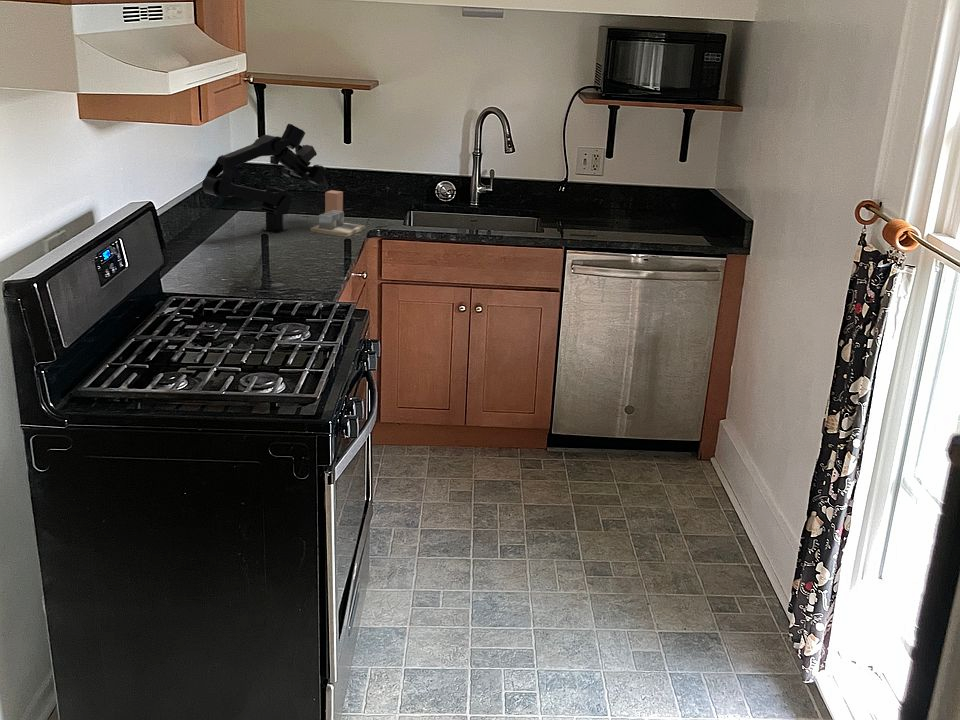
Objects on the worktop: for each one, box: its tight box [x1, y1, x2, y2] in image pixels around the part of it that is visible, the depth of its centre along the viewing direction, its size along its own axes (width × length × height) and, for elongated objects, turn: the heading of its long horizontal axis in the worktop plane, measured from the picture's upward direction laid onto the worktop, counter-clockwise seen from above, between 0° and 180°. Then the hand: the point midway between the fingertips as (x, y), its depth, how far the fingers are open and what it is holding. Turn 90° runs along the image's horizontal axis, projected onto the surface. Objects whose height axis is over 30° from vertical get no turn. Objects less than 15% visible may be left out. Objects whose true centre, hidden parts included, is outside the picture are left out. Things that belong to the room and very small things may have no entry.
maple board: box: [310, 210, 366, 238], centre depth 323 cm, size 14×14×6 cm
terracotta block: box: [324, 189, 344, 213], centre depth 333 cm, size 5×5×11 cm
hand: (318, 183), depth 328 cm, fingers open, 9 cm apart
